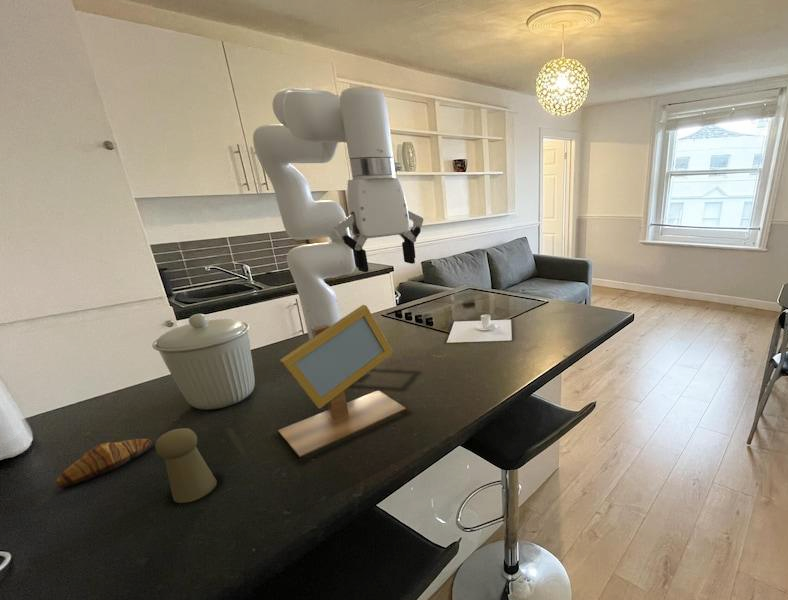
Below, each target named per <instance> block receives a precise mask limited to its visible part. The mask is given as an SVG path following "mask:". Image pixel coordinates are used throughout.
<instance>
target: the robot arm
mask: <svg viewBox="0 0 788 600" xmlns="http://www.w3.org/2000/svg"><path fill="white" fill-rule="evenodd" d="M387 102H388V101H387V99H386V96H385V94H384V93H383V92H382V91H381V90H379V89H376V88H373V87H365V86H355V87H349V88H348V87H347V88H345V89H343V90H342V91H341V92H340V94H335V93H332V92H330V91H327V90H320V89H319V90H318V89H314V88H313V89H311V88H299V87H285V88H283V89H280V90H279V91H278V92H276V93H275V95H274V97H273V99H272V111H273V114H274V116H275V117H276V119H277V120H278V122H279V123H280V124H279V123H277V124H275V123H273V124H264V125H261V126H258V127H256V129H255V130H254V131H253V134H252V143H253V147H254V152H255V154H256V157H257V159H258V162H259V164H260V165H261V167H262V170H263V171H264V173H265V174H266V177H268V180H269V182H270V183H271V185H272V188H273V191H274V195H275V199H276V203H277V206H278V211H279V214H280V217H281V220H282V224H283V228H284V231H285V232H286V235H287V236H288V237H289V238H291V239H293V240H296V241H297V240H299V241H303V240H314V239H322V238H329V239H330V241H327V242H326V241H325V242H318V243H310V244H302V245H298V246H295V247H293V248H291V249H290V250H289V251H288V253H287V254H286V263H287V266H288V269H289V271H290V275H291V276H292V279H293V281H294V284H295V287H296V290H297V294H298V297H299V302H300V305H301V306H300V307H301V310H302V315H303V319H304V323H305V327H306V332H307V337H308V341H309V340H311V339H312V338H313V335H312V331H311V328H314V327H317V326H321V325H325V324H327V325H329V326H332V325H333V324H335V323H336V322H338V321H339V320H341V319H342V316H341V312H340V305H339V302H338V296H337V293H336V291H335V290H334V289H333V287H332V286H330V285H329V284H328V283H326V282H325V279H329V278H334V277H339V276H345V275H349V274H352V273H353V272H354V271H355V270H356V268H357V270H358V271H360V272H362V273H368V272H369V271H370V270H369V264H368V263H369V262H368V258H367V252H366V250H365V249H363V247H364V245H365V243H366V242H367V240H368V239H374V238H382V237H390V236H391V237H392V236H398V235H399V237H401V239H402V240H403V241H402V242H401V247H402V248H401V249H402V254H403V255H402V256H403V261H404V263H407V264H410V265H413V264H414V265H415V264H416V249H415V243H416V242H417V239H418V236H419V235H420V233H421V229H422V227H423V223H424V218H423V217H422V216H420V215H418V214H416V213H414V212H412V211H410V210H408V209H409V208H408V204H407V200H406V196H405V191H404V188H403V185H402V182H401V179H400V177H397V174H398V172H400V171H402V165H401V163H400V162H396V160H395V157H394V150H393V141H392V135H391V127H390V125H391V124H390V119H389V110H388V109H389V108H388V103H387ZM339 143H345V144H346V149H347V154H348V160H349V161H348V162H349V166H350V173H351V178H352V179H348V180H347V187H346V188H347V189H346V191H347V210H348V216H346V215H347V214H346V213H345V210H344V208H343V207H342V206H341V204H340V203H338V202H336V201H335V200H329V199H327V200H325V199H324V200H315V199H314V198H313V195H312V191H311V187H310V184H309V181H308V180H307V178H306V177H305V176H304V175H303V174H302V172H300V171H299V170H298V168H296V167H295V166H294V165H292V164H325V163H329V162H331V161H332V159H333V158H334V157H335V155H336V152H337V149H338V146H339ZM410 221H412V227H411V226H410V225H411V224H410ZM410 227H411V228H410ZM351 234H352V235H353V237H352V235H351Z"/></svg>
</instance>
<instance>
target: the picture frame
mask: <svg viewBox="0 0 788 600" xmlns="http://www.w3.org/2000/svg"><path fill="white" fill-rule="evenodd" d="M392 354H394V351H393V349H392V347H391V346H390V343H389V342H388V341H387V338H386V337H385V335H384V334H383V331H382V329H381V328H380V327H379V325H378V323H377V321H376V319H375V317H374V316H373V314H372V312H371V311H370V309H369V308H368V306H367V305H365V304H362V305H360V306H359V307H357V308H356V309H354V310H353V311H351V312H350V313H348V314H347V315H345V316H344V317H341V320H339V321H338V322H336V323H335V324H333V325H332V326H330V327H329V328H327V329H326V330H324V331H323V332H321V333H320V334H318V335H317V336H315V337H314V338H312V339H311V340H309V339H308V341H306V342H305V343H303V344H301V345H300V346H298V347H297V348H296V349H294V350H293V351H290V352H289V353H288V354H286V355H285V356H283V357H281V359H279V361H280V362H281V363H282V365H283V366H284V367H285V368H286V370H287V371H288V373H290V375H291V376H292V377H293V379H294V380H295V381H296V383H297V384H298V385H299V387H301V389H302V390H303V391H304V393H305V394H306V395H307V396H308V397H309V400H310V401H312V403H313V404H314V405H315V406H316V407H317V409H318V410H320V409H322V408H323V407H324V406H326V405H328V402H329V401H331V400H332V399H333V398H335V397H336V396H337V395H339V394H340V393H341V392H342V391H344V392H345V390H347V389H348V388H349V387H350V386H352V385H354V383H356V382H357V381H358V380H359V379H361V378H362V377H363V376H365V375H366V374H368V373H369V372H370V371H371V370H373V369H374V368H375V367H377V366H378V365H379V364H381V363H382V362H383V361H385V360H386V359H387V358H388V357H390V356H391V355H392Z"/></svg>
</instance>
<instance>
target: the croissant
mask: <svg viewBox="0 0 788 600" xmlns="http://www.w3.org/2000/svg"><path fill="white" fill-rule="evenodd" d="M152 447H153V442H152V440H151V439H150V438H133V439H126V440H121V441H117V442H105V443H100V444H98V445H96V446H94V447H93V448H90V449H89V450H87V451H85V453H84V454H83V455H82V456H81V457H80V458H79V459H77V460H75V461H74V462H73V463H72V464H71V465H69V466H68V467H67V468H65V469H64V470H63V471H62V472H61V473H60V475H58V477H57V478H56V486H58V487H59V488H61V489H64V488H68V487H71V486H75V485H78V484H82V483H84V482H86V481H89V480H91V479H94V478H96V477H99V476H101V475H103V474H107V473H109V472H111V471H113V470H116V469H118V468H119V467H121V466H123V465H125V464H127V463H128V462H130V461H132V460H134V459H136V458H137V457H140V456H141V455H143V454H144V453H146V452H147V451H149V450H150V449H151V448H152Z"/></svg>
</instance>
